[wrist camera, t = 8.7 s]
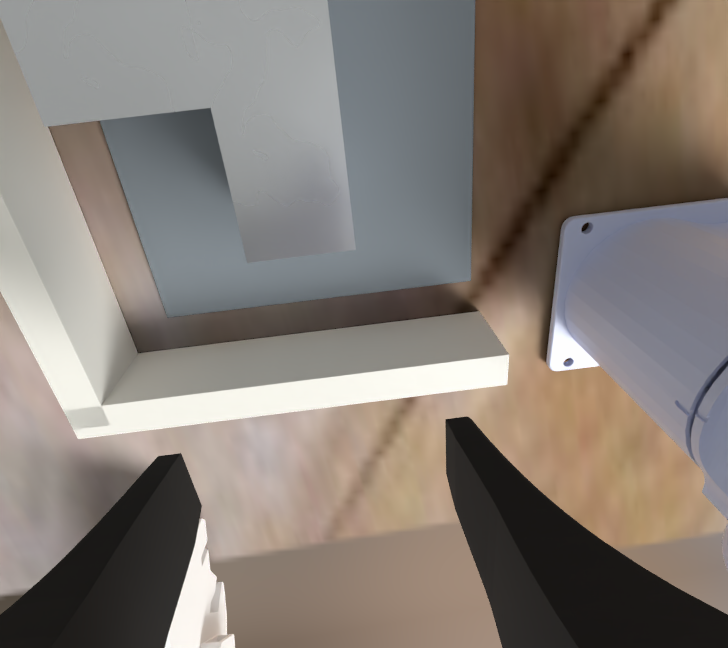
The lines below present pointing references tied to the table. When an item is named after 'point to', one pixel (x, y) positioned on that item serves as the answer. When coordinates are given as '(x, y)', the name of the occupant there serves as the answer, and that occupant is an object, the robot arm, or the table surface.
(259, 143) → the bracket
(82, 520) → the table surface
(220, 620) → the white block
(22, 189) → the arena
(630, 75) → the table surface
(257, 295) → the mat
